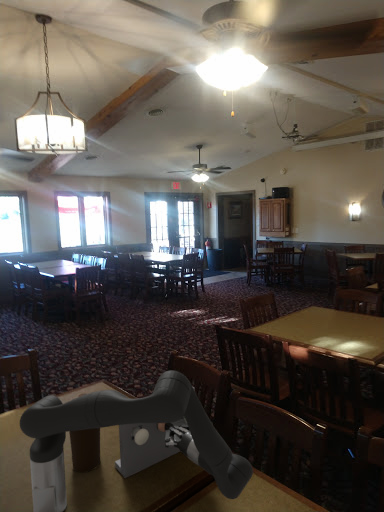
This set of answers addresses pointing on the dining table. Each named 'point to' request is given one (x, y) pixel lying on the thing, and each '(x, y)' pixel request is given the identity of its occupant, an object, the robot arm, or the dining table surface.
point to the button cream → (140, 435)
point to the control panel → (143, 448)
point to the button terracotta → (161, 426)
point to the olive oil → (85, 448)
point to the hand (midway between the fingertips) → (166, 425)
